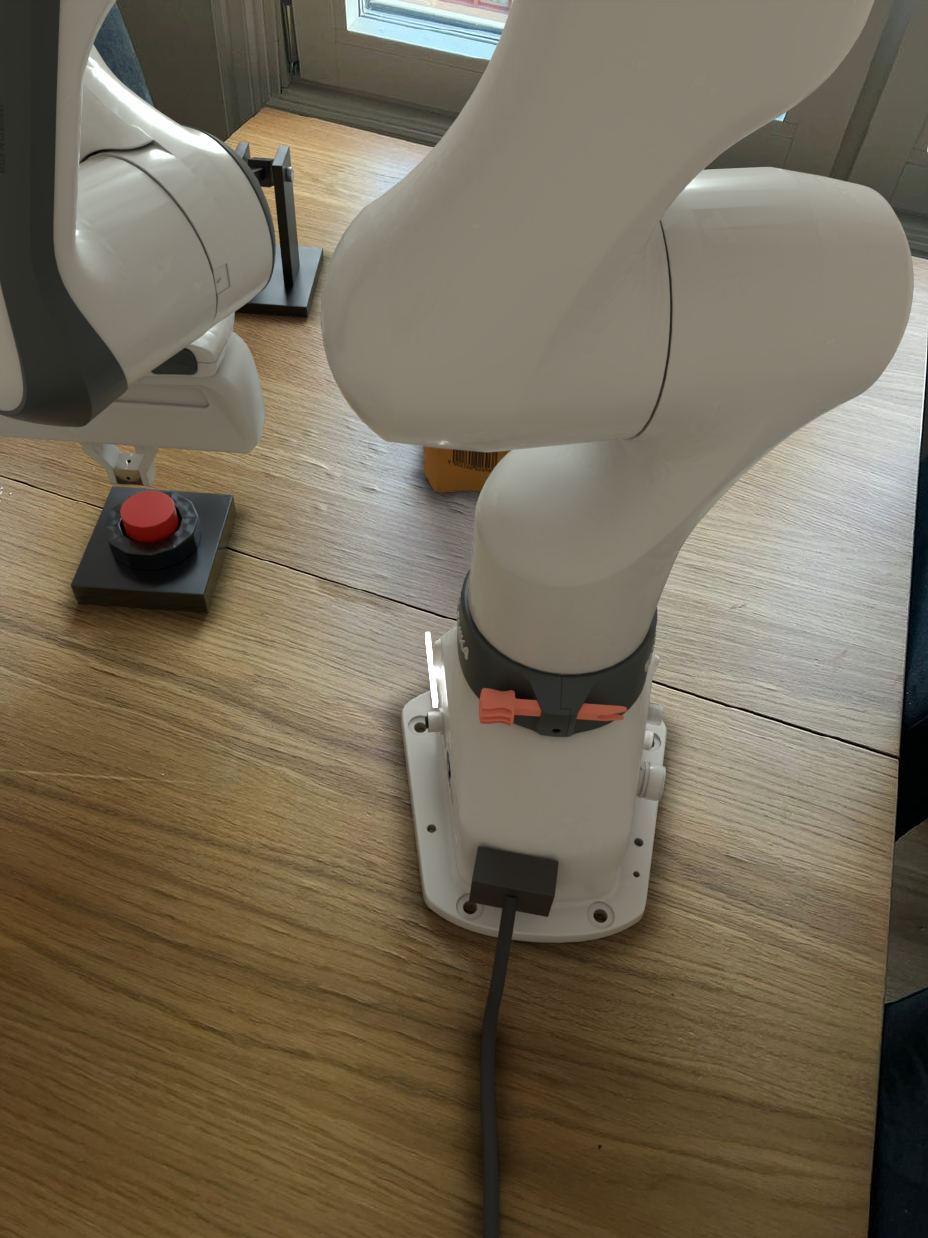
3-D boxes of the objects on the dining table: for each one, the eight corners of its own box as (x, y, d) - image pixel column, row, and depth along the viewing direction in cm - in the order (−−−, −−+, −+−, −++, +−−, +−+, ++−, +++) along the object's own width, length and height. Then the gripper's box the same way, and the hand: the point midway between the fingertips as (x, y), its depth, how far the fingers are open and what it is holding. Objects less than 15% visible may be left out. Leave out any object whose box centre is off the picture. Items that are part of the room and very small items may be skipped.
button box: (208, 613, 72) (199, 578, 68) (77, 604, 71) (63, 569, 68) (237, 513, 79) (230, 477, 75) (118, 505, 78) (106, 469, 75)
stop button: (171, 545, 71) (167, 529, 70) (118, 541, 71) (113, 525, 70) (184, 508, 74) (179, 492, 72) (133, 505, 73) (128, 488, 72)
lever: (255, 202, 80) (254, 171, 78) (197, 198, 80) (195, 167, 78) (290, 185, 94) (289, 159, 93) (240, 182, 94) (239, 155, 92)
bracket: (307, 317, 97) (296, 186, 87) (221, 310, 97) (199, 178, 87) (323, 257, 105) (315, 129, 94) (243, 251, 105) (226, 123, 94)
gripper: (-106, 332, 56) (-24, 500, 66) (238, 357, 56) (264, 519, 67) (-65, 274, 59) (6, 441, 70) (257, 297, 60) (278, 459, 71)
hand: (134, 479), depth 69 cm, fingers closed
